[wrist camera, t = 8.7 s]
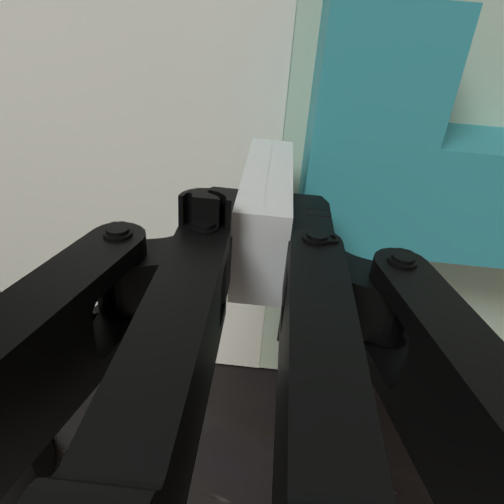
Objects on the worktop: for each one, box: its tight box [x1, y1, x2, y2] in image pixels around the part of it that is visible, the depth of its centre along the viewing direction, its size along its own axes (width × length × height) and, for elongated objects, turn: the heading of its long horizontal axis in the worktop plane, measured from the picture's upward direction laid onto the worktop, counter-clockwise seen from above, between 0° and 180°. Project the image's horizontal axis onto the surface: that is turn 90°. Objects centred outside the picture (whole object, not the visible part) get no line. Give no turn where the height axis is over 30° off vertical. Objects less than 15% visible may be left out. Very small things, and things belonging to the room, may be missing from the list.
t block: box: [298, 0, 504, 269], centre depth 16 cm, size 12×12×4 cm
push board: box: [0, 0, 504, 369], centre depth 18 cm, size 24×30×1 cm
